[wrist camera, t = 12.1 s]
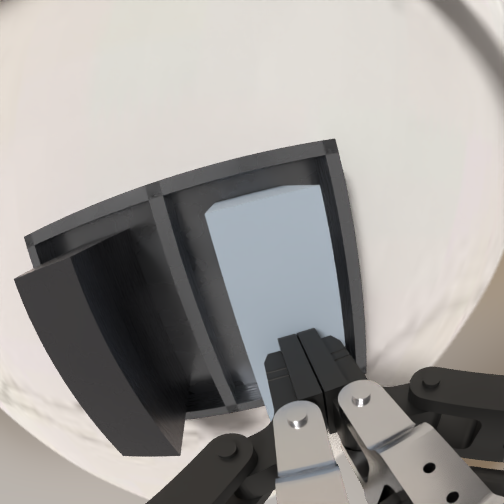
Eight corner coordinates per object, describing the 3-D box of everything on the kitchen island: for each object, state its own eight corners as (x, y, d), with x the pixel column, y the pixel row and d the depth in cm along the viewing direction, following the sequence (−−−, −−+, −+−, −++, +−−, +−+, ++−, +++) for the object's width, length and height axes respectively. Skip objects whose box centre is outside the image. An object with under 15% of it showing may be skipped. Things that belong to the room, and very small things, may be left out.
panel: (281, 185, 16) (319, 185, 9) (315, 352, 19) (349, 419, 12) (214, 202, 16) (204, 214, 9) (262, 367, 19) (278, 441, 12)
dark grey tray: (319, 144, 16) (382, 120, 9) (353, 357, 20) (396, 419, 13) (44, 230, 15) (-27, 255, 8) (127, 406, 19) (104, 470, 12)
